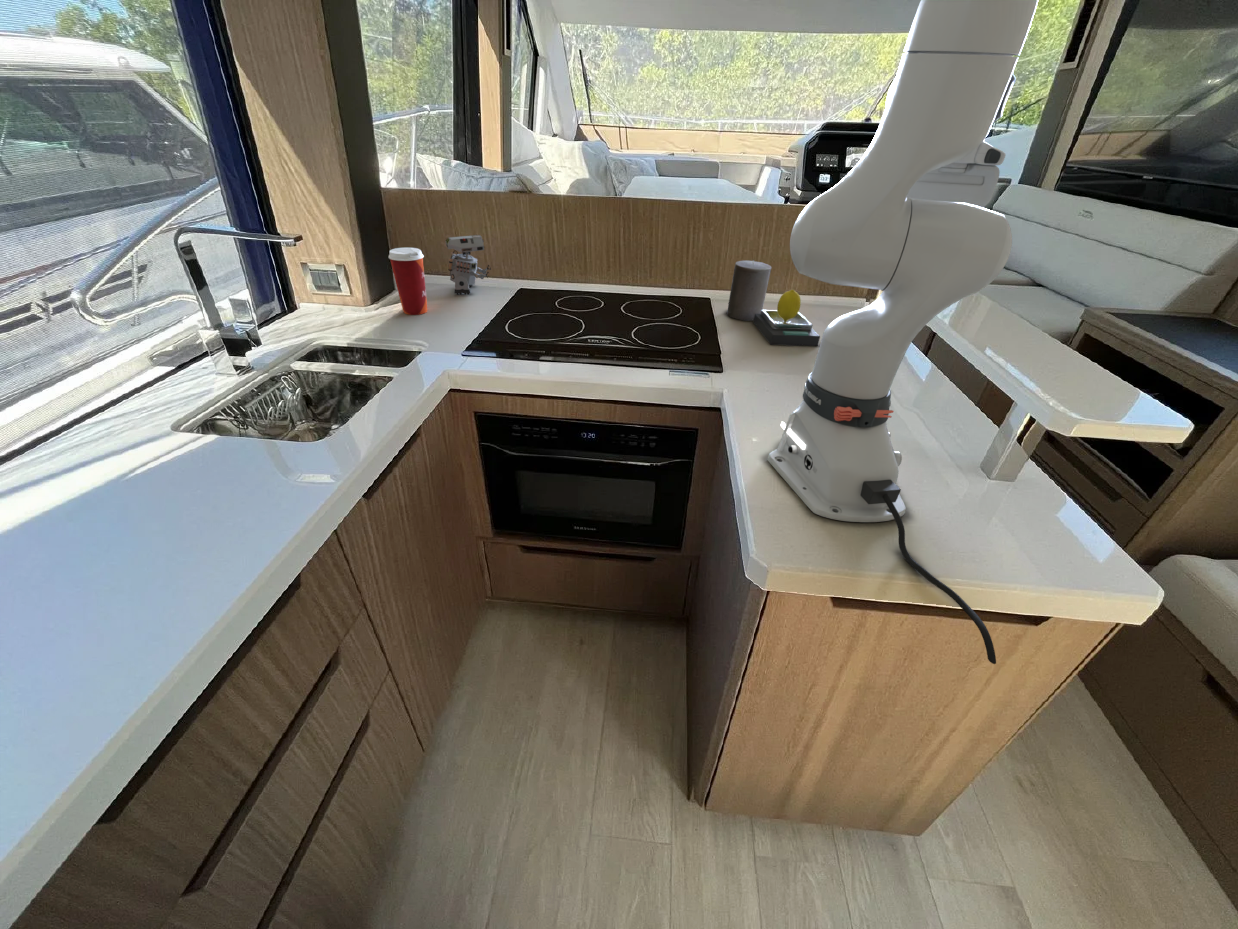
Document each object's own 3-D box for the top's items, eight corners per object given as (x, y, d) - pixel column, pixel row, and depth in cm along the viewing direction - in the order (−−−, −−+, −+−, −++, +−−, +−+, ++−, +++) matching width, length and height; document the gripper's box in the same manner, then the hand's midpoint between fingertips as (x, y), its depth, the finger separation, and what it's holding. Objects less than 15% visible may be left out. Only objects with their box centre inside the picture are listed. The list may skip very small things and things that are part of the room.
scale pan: (811, 331, 132) (812, 324, 131) (772, 329, 131) (773, 323, 130) (796, 316, 141) (797, 310, 140) (760, 315, 140) (761, 309, 139)
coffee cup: (438, 311, 137) (429, 251, 129) (409, 318, 132) (398, 256, 123) (420, 304, 141) (410, 245, 133) (392, 310, 136) (380, 249, 128)
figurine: (490, 295, 151) (486, 239, 143) (449, 294, 149) (442, 238, 141) (492, 286, 158) (487, 233, 150) (453, 285, 157) (446, 231, 148)
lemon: (797, 325, 133) (804, 293, 128) (774, 323, 134) (781, 291, 129) (795, 318, 137) (803, 287, 133) (773, 316, 138) (780, 285, 134)
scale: (817, 345, 130) (820, 334, 129) (770, 344, 129) (773, 332, 128) (795, 323, 144) (798, 313, 142) (753, 322, 143) (755, 311, 141)
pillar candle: (721, 315, 146) (730, 259, 138) (734, 307, 153) (744, 253, 145) (753, 323, 142) (765, 266, 134) (766, 314, 149) (778, 259, 140)
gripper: (909, 148, 96) (884, 230, 103) (1014, 155, 97) (981, 234, 105) (892, 146, 101) (869, 224, 109) (992, 152, 102) (962, 228, 110)
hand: (925, 229), depth 107 cm, fingers open, 8 cm apart
